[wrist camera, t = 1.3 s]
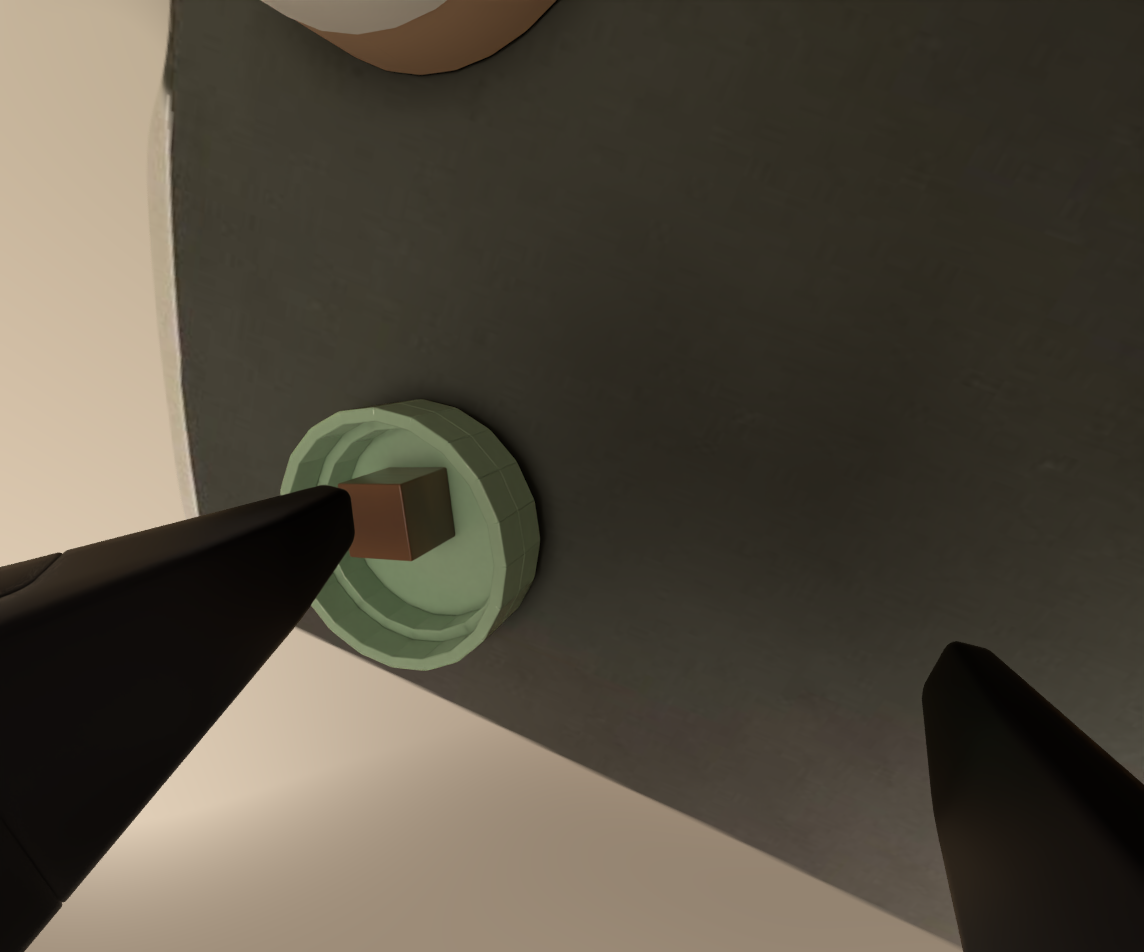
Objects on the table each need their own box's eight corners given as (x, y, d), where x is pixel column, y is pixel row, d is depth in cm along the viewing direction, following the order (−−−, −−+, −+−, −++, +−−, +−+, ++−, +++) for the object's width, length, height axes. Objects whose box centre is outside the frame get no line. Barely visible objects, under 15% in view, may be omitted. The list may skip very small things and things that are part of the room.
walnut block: (456, 536, 28) (411, 562, 25) (398, 533, 29) (349, 557, 26) (446, 466, 27) (400, 484, 24) (388, 467, 28) (336, 483, 25)
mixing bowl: (525, 662, 29) (486, 709, 25) (336, 586, 33) (278, 618, 29) (563, 431, 25) (523, 447, 22) (345, 376, 29) (280, 382, 25)
